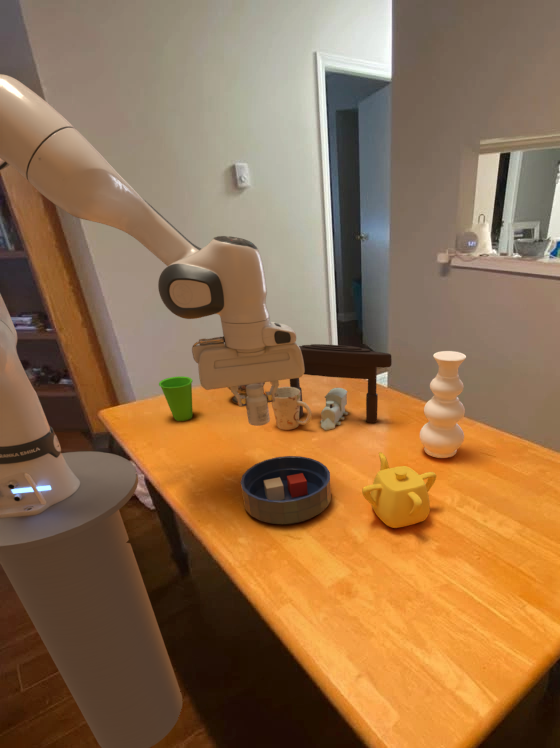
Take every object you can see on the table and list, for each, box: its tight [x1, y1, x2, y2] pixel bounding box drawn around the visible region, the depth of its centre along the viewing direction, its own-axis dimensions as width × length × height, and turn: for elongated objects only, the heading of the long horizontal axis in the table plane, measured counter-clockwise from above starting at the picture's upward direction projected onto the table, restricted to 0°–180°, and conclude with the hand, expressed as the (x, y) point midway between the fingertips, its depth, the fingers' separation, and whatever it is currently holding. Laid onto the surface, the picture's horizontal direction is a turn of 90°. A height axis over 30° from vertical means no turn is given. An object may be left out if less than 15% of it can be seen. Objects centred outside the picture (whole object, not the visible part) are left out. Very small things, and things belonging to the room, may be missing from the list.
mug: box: [270, 386, 313, 431], centre depth 127 cm, size 8×13×10 cm, turn 64°
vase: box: [419, 350, 467, 459], centre depth 110 cm, size 11×11×25 cm
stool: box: [289, 343, 393, 432], centre depth 129 cm, size 16×21×33 cm
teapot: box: [361, 451, 437, 529], centre depth 91 cm, size 14×13×10 cm
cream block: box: [264, 477, 285, 500], centre depth 97 cm, size 4×4×4 cm
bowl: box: [239, 455, 332, 525], centre depth 96 cm, size 18×18×6 cm
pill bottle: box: [245, 384, 271, 427], centre depth 94 cm, size 4×4×8 cm
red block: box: [287, 473, 308, 498], centre depth 99 cm, size 4×4×4 cm
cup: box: [158, 376, 194, 422], centre depth 133 cm, size 9×9×11 cm
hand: (257, 403), depth 93 cm, fingers closed on pill bottle, 4 cm apart
